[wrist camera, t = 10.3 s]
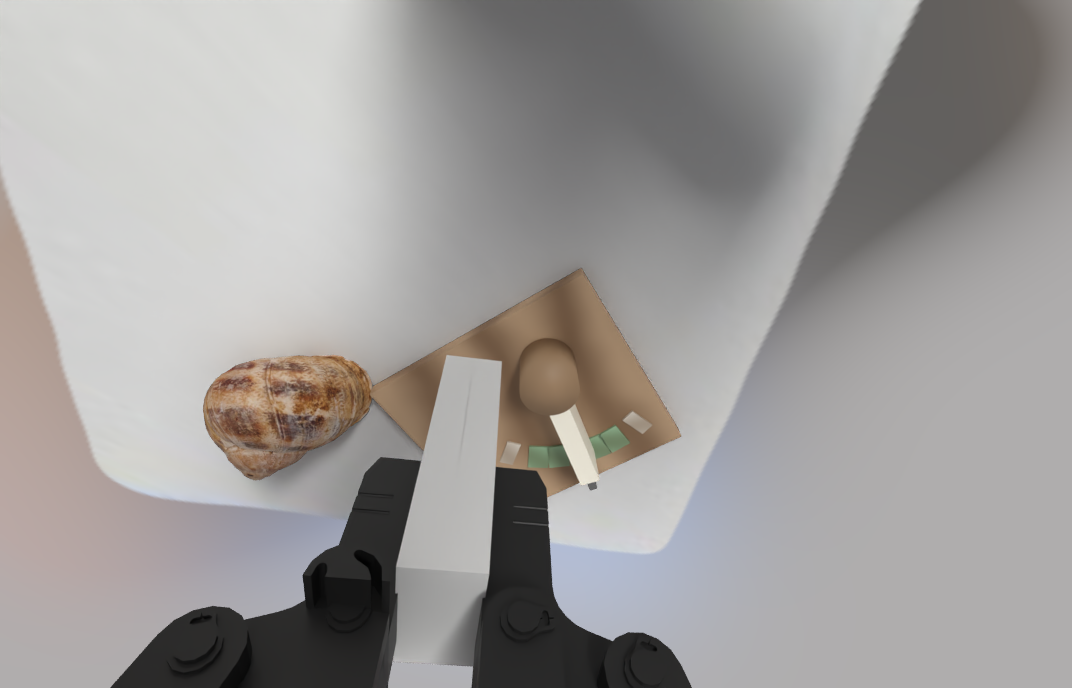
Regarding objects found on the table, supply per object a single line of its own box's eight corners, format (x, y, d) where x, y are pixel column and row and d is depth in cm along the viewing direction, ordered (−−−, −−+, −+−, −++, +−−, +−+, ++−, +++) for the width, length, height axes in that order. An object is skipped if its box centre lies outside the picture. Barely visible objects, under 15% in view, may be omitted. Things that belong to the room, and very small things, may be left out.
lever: (511, 348, 40) (510, 377, 37) (564, 330, 40) (568, 358, 36) (565, 466, 47) (569, 500, 43) (612, 452, 46) (619, 485, 43)
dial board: (581, 267, 39) (583, 275, 38) (677, 427, 47) (682, 437, 45) (373, 386, 44) (368, 396, 42) (492, 512, 51) (491, 524, 50)
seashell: (336, 466, 47) (233, 518, 38) (275, 395, 49) (163, 429, 40) (392, 388, 43) (291, 426, 34) (323, 314, 44) (210, 331, 35)
